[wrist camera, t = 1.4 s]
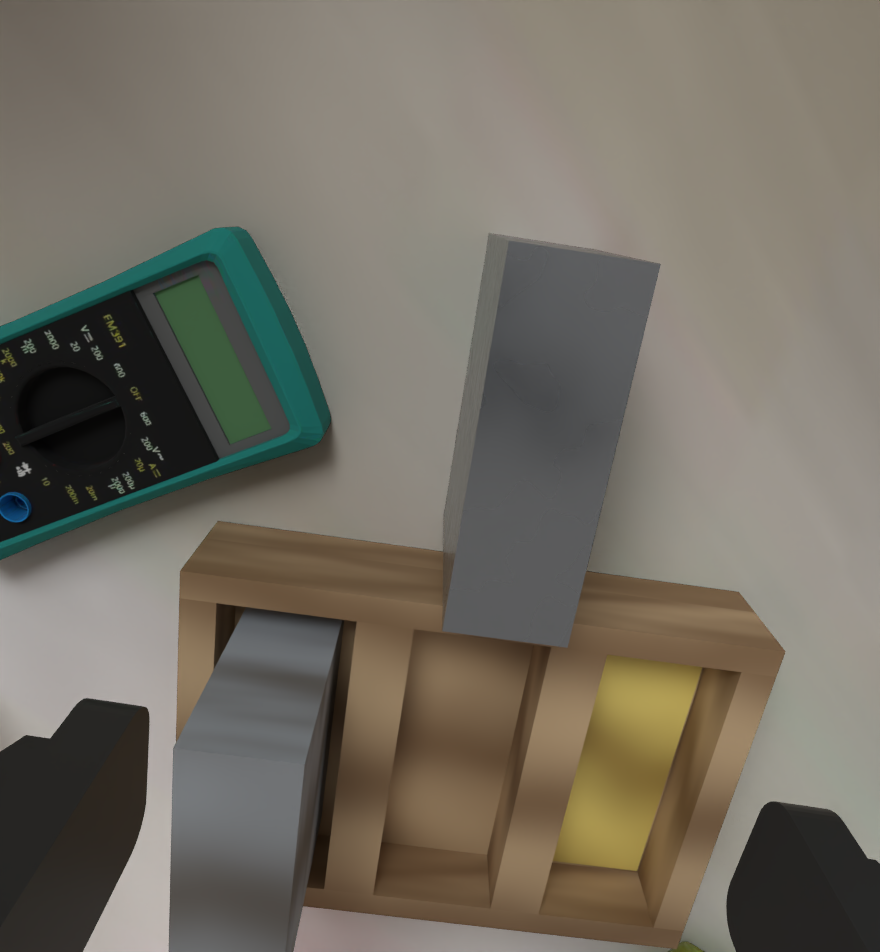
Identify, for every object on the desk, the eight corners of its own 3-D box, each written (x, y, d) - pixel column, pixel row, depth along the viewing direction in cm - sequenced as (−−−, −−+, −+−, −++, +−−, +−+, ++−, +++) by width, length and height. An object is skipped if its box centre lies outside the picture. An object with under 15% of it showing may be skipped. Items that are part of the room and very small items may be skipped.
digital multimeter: (-123, 376, 25) (-193, 397, 23) (253, 218, 23) (227, 219, 21) (-8, 550, 28) (-58, 588, 25) (343, 420, 26) (330, 445, 23)
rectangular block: (488, 233, 23) (509, 240, 16) (591, 248, 23) (661, 264, 16) (443, 513, 26) (442, 631, 19) (533, 526, 27) (567, 647, 19)
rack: (217, 521, 27) (101, 674, 18) (738, 592, 27) (880, 773, 18) (205, 815, 31) (109, 1053, 22) (648, 868, 32) (725, 1117, 23)
